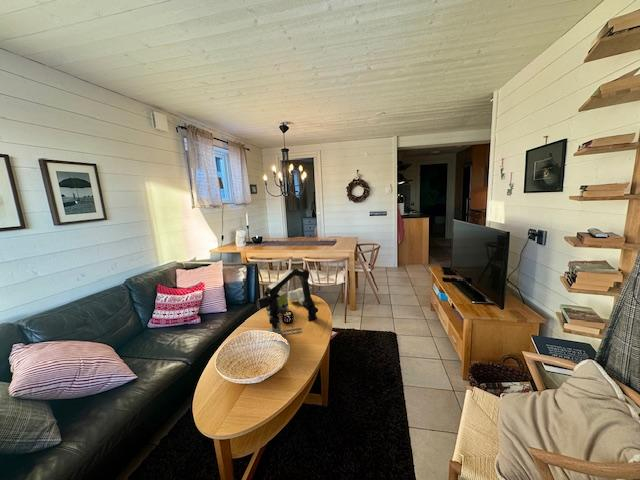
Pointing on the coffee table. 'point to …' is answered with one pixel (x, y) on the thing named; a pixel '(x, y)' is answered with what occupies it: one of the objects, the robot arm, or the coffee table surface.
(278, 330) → the block
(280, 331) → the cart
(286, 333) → the track
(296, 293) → the fox head
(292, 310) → the coffee table surface
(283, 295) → the tea box
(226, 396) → the coffee table surface
